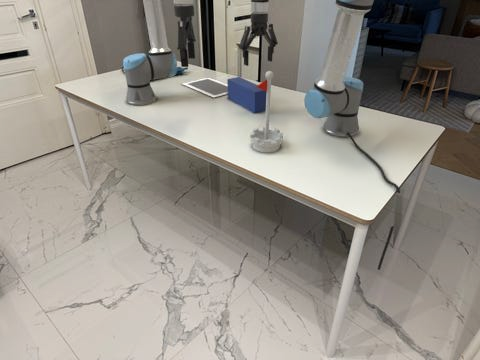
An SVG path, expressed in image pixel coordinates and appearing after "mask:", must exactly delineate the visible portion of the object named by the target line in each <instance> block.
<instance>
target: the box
mask: <svg viewBox="0 0 480 360" xmlns="http://www.w3.org/2000/svg"><path fill="white" fill-rule="evenodd" d="M226 82H227V83H226V84H228V94H227V99H228V100H230V102H233V103H235V104H237V105H238V106H240V107H242V108H244V109H246V110H247V111H250V112H252V114H257V113H262V112H266V94H267V91H264V90H262V89H260V88H257V87H256V86H258V85H259V84H257V83H254V82H252V81H250V80H247V79H245V78H242V77H240V76H237V77H232V78H231V77H230V78H227V81H226Z"/></svg>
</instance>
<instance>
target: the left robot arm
mask: <svg viewBox="0 0 480 360" xmlns="http://www.w3.org/2000/svg"><path fill="white" fill-rule="evenodd" d="M194 3H195V1H194V0H173V4H174V6H173V9H174V10H173V12H174V16H175V17H176V18H179V20H178V21H177V48H176V50H177V51H179V56H180V57H179V58H180V67H182V68H186V67H188V68H189V59H190V60H191V59H193V60H194V59H196V53H195V52H196V50H195V42H197V39H196V36H195V31H194V25H193V18H192V17H194V16H195V6H194ZM142 4H143V10H144V15H145V21H146V27H147V33H148V39H149V44H150V50H148V55H147V54H146V53H142V52H141V53H134V54H130V55H127V56H126V57H124V58H123V60H122V64H123V65H122V67H121V72H122V73H123V74H124V75H125V82H126V85H127V89H126V95H125V97H126V98H125V100H126V104H128V105H131V106H146V105H150V104H153V103H154V102H156V101H157V97H156V95H155V92H154V89H153V88H152V86H151V81H154V80H159V79H165V78H166V79H168V78H172V77H174V76H176V75H177V74H176V71H177V67H178V60H177V56H176V54H175V53H173V52H172V49H171V48H170V47H169V45H168V38H167V31H166V26H165V25H166V24H165V18H164V11H163V5H162V0H142ZM153 79H154V80H153Z"/></svg>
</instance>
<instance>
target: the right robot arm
mask: <svg viewBox="0 0 480 360" xmlns="http://www.w3.org/2000/svg"><path fill="white" fill-rule="evenodd" d="M374 1H375V0H335V4H334V5H336V8H337V13H336V16H335V20H334V25H333V28H332V31H331V32H332V33H331V35H330V38H329V42H328V46H327V50H326V54H325V57H324V61H323V65H322V68H321V72H320V76H318V77H317V78H315V80H314V83H313V85H312V86H313V87H312V88H311V89H309V90H308V91H307V92H306V93H305V94H304V97H303V98H304V99H303V101H304V102H303V103H304V107H305V109H306V111H307V112H308V114H309V115H310V116H311V117H312V118H315V119H319V120H321V119H323V118H325V119H326V120H325V121H324V123H323V126H322V130H323V132H324V133H325V134H326V135H329V136H332V137H335V138H339V139H341V138H342V139H350V140H351V142H352V144H353V145H354V146H355V148H356V149H357V150H358V151H359V152H360V153H362V154H363V155H364V156H365V157H366V158H368V160H370V162H372V163H373V164H374V165H375V166H376V167H377V168H378V170H379V171H380V174H381V176H382V177H383V179H384V181H385V182H386V183H387V184H389V185H391V186H393V187H394V188H395V190H396V192H397V193H398V194H400V193H401V189H400V187H399V186H398V184H396V183H395V182H393V181H391V180H390V179H388V178H387V176H386V174H385V171H384V170H383V168H382V166H381V165H380V164H379V163H378V162H377V161H376V160H375V159H374V158H373V157H372V156H370V155H369V154H368V153H367V152H366V151H365V150H363V149H362V148H361V147H360V146H359V145H358V144H357V142H356V141H355V138H354V137H356V136H357V135H359V132H360V125H359V118H358V117H359V116H358V114H359V111H360V110H359V109H360V105H361V100H362V95H363V92H364V82H363V81H362V79H359V78H355V77H352V76H345V75H346V73H347V69H348V67H349V64H350V60H351V57H352V54H353V52H354V51H353V50H354V48H355V45H356V42H357V38H358V36H359V32H360V29H361V25H362V22H363V19H364V16H365V14H368V12H370V11H372V10H371V9H372V6H373V3H374ZM269 2H270V0H250V12H251V13H250V23H251V24H250V25H245V26H244V32H243V34H242V37H241V39H240V42H239V45H238V49H239V50H241V51H242V59H243V65H244V66H246V67H248V66H249V60H250V59H249V57H250V56H249V54H250V53H249V52H250V51H249V48H250V46H251V45H252V43H253V41H254V40H255V38H256V37H260V36H261V37H262V36H263V38H264V39H265V41H266V42H267V44H268V45H267V61H268V62H273V55H274V53H275V51H274V50H275V47H276V46H277V45H278V40H277V36H276V33H275V30H274V24H273V23H270V22H269V13H268V12H269V4H270V3H269ZM394 228H395V225H393V226H390V229H389V233H388V236H387V239H386V241H385V244H384V247H383V251H382V253H381V257H380V260H379V261H378V262H379V263H378V266H377V270H378V271H380V270H381V267H382V264H383V263H384V262H383V261H384V258H385V255H386V252H387V250H388V248H389V245H390V241H391V238H392V235H393V232H394Z"/></svg>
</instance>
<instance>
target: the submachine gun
mask: <svg viewBox="0 0 480 360" xmlns="http://www.w3.org/2000/svg"><path fill="white" fill-rule="evenodd" d="M187 70H189V67H181V66H177V71H176V74H175V75H177V74H183V73H184V72H185V71H187ZM152 81H155V79H153V80H152Z"/></svg>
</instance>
